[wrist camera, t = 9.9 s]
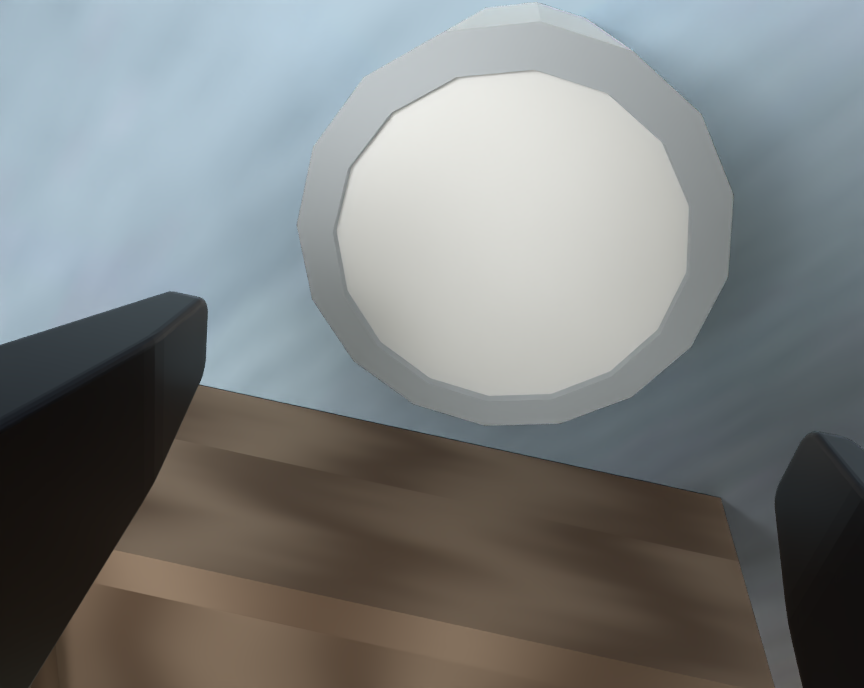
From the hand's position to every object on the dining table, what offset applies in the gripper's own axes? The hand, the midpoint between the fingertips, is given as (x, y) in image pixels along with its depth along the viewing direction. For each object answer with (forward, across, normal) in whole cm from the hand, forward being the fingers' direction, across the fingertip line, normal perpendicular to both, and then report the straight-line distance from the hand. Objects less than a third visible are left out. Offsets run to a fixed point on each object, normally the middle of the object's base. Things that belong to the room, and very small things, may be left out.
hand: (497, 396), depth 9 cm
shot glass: (+11, 0, 0) cm, 11 cm away
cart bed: (+11, +2, +16) cm, 20 cm away
